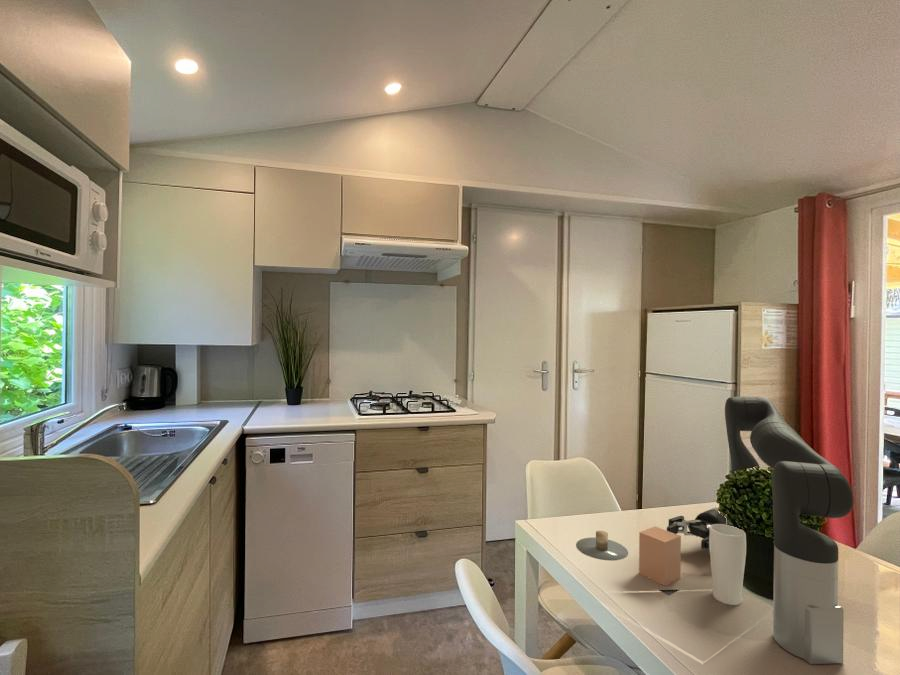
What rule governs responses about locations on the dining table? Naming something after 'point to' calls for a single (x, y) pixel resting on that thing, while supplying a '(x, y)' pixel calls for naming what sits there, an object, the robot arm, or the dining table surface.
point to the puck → (602, 540)
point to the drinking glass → (727, 562)
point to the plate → (612, 553)
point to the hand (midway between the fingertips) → (685, 538)
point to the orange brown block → (660, 555)
